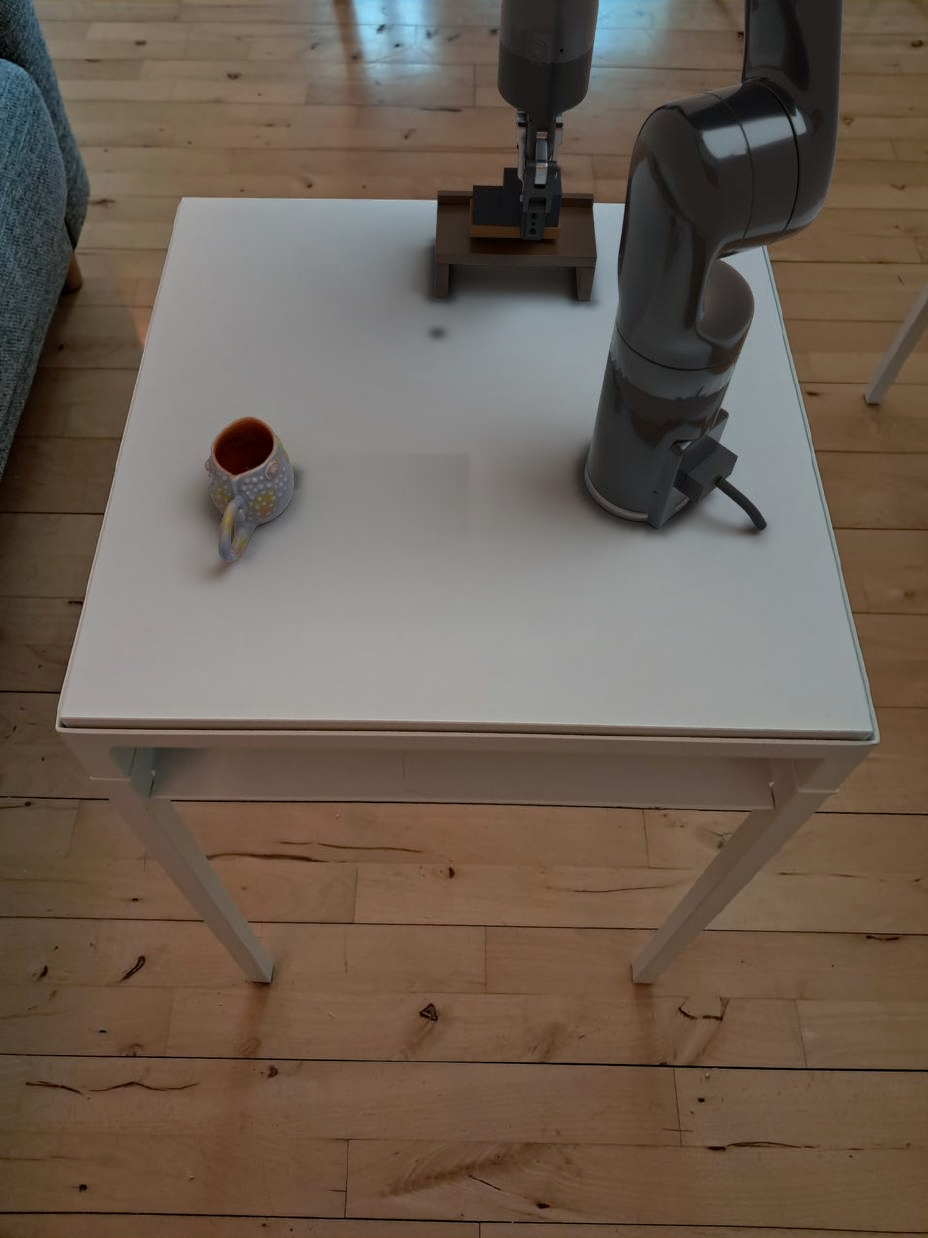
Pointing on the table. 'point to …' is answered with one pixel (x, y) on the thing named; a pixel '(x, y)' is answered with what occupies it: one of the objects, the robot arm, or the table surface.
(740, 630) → the table surface
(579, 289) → the shoe shelf
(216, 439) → the mug
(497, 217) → the stepped blocks on board
